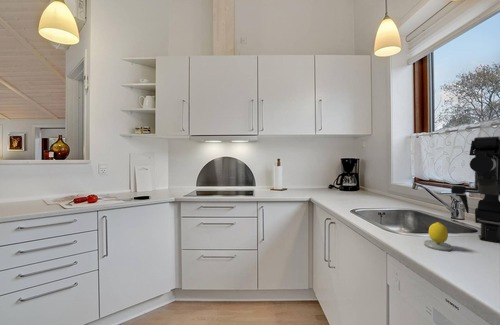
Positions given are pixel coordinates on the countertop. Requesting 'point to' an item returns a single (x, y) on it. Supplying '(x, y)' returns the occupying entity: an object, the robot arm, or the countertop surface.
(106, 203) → the countertop surface
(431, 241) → the coaster
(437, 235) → the lemon
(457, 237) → the countertop surface
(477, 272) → the countertop surface
